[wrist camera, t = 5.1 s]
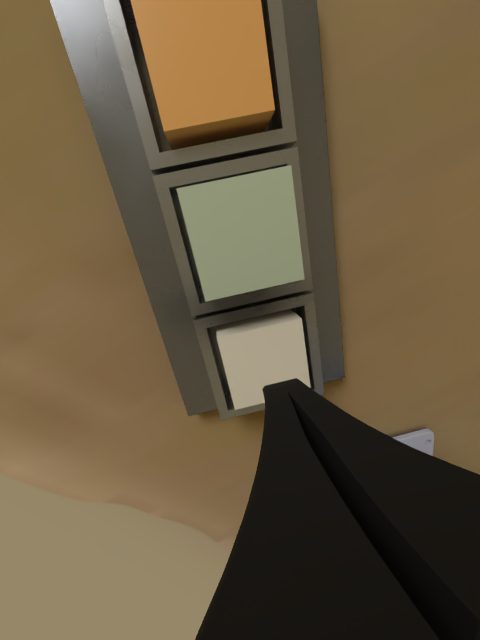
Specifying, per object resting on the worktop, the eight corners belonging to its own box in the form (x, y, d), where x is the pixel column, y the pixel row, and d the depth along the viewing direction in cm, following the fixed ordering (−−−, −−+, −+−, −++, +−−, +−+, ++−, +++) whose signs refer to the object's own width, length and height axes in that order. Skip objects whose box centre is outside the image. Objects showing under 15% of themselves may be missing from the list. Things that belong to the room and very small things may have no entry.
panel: (335, 368, 17) (361, 394, 14) (190, 404, 16) (185, 438, 13) (302, -16, 11) (336, -111, 8) (67, 25, 10) (11, -59, 7)
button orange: (263, 133, 11) (274, 110, 9) (172, 151, 10) (163, 131, 9) (245, 10, 9) (254, -49, 7) (141, 28, 9) (123, -27, 7)
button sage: (289, 272, 12) (304, 279, 10) (206, 291, 11) (205, 301, 10) (276, 178, 10) (291, 164, 8) (182, 198, 10) (176, 188, 8)
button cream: (297, 371, 14) (310, 391, 13) (231, 387, 14) (234, 410, 12) (288, 307, 13) (301, 318, 11) (215, 324, 13) (216, 338, 11)
